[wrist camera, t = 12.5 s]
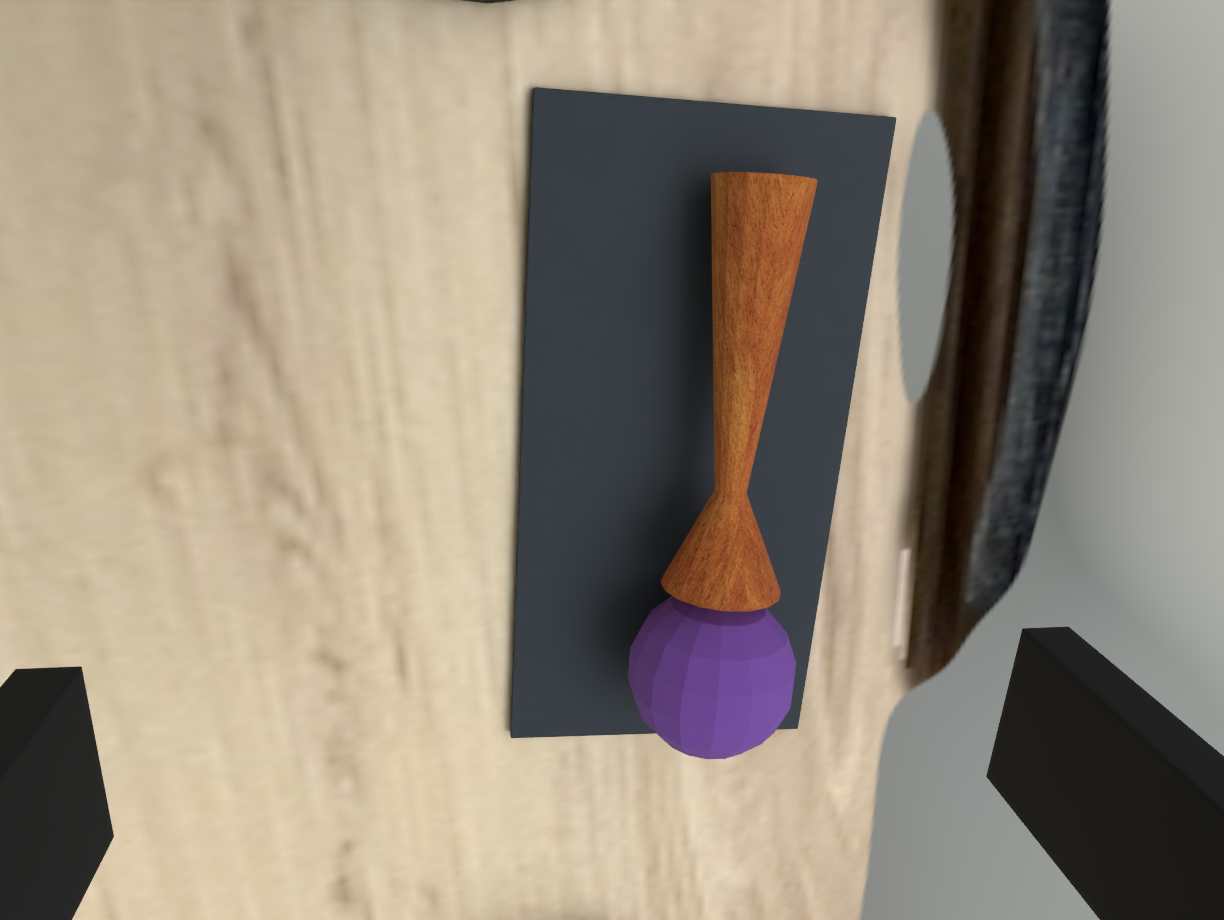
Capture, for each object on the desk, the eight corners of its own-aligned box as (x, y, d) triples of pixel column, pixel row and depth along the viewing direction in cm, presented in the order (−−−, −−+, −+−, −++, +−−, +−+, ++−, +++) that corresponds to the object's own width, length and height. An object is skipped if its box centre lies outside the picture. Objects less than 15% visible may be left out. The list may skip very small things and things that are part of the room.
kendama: (903, 182, 26) (816, 779, 31) (797, 187, 31) (738, 694, 36) (720, 163, 24) (659, 805, 29) (641, 172, 29) (601, 711, 34)
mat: (532, 88, 27) (533, 87, 27) (891, 117, 29) (897, 117, 29) (510, 732, 35) (510, 738, 35) (794, 723, 37) (797, 729, 37)
